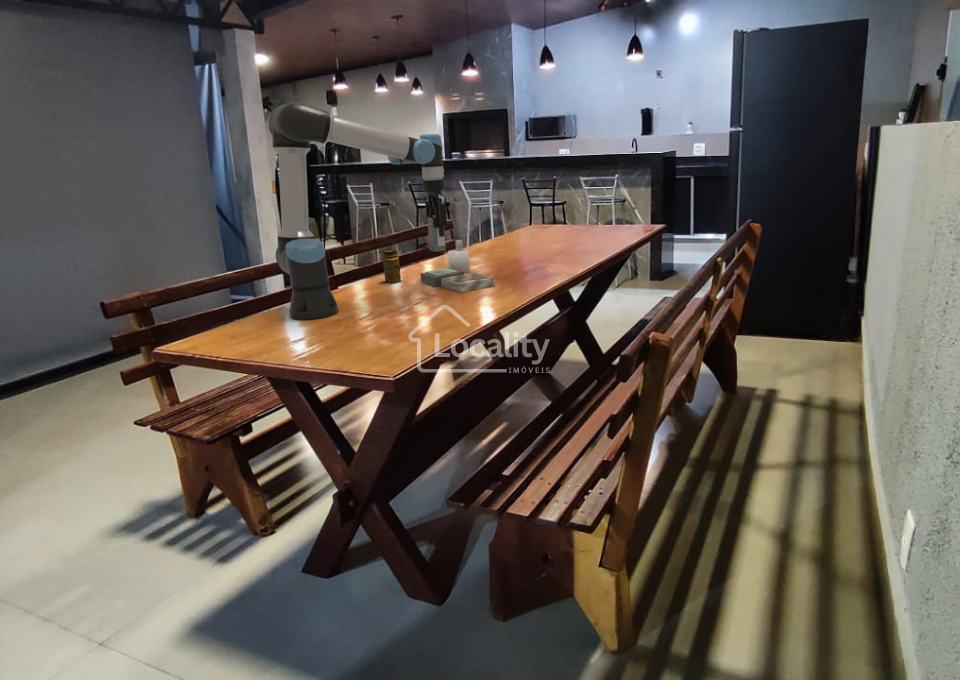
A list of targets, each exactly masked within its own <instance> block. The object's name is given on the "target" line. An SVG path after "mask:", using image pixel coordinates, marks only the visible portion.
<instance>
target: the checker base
mask: <svg viewBox="0 0 960 680" xmlns="http://www.w3.org/2000/svg"><path fill="white" fill-rule="evenodd" d="M445 268H449V269H450V266H449V265H447V266H445ZM452 270H453V269H452ZM426 272H427V271H425V272H420V282H421V284H423V285H424V284H425V285H428V286H430V287H433V288H439V287H441V278H447V277H453V276H458V275H464V270H459V271H458V273H454V274H449V275H443V276H438V277H435V276H432V275H429V274H426Z"/></svg>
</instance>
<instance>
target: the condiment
mask: <svg viewBox="0 0 960 680" xmlns="http://www.w3.org/2000/svg"><path fill="white" fill-rule="evenodd" d="M382 254H383V255H382V256H383V259H382V263H383V272H384V279H385V280H383V281H379V282H377V284H380V285H384V286H390V285H395V284H398V283H403V282H405V281H406V280H403V279H402V278H401V277H402V276H401V268H400V259H399V257H398V250H397V249H388V250H384V251H383V252H382Z"/></svg>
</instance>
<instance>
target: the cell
mask: <svg viewBox="0 0 960 680" xmlns="http://www.w3.org/2000/svg"><path fill="white" fill-rule="evenodd" d="M427 221H428V224H427V233H428V245H429V247H428V248H429V251H430V252H433V253H434V252H435V253H437V252H443V251H446V250H447V249H446V244H445V245H443V246H437V232H436V226H437V221H436V215H433V217H428V218H427V220H426V222H427ZM445 233H446V232H445V230H444V237H445V238H446V235H445Z"/></svg>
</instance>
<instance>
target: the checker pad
mask: <svg viewBox="0 0 960 680" xmlns="http://www.w3.org/2000/svg"><path fill="white" fill-rule="evenodd" d="M425 272H426V274H429V275H432V276H435V277H438V276H443V275H449V274H454V273H458V271H456V270H452V269H449V268H446V267H445V268H440V269H435V270H428V271H427V270H426V271H425Z"/></svg>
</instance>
